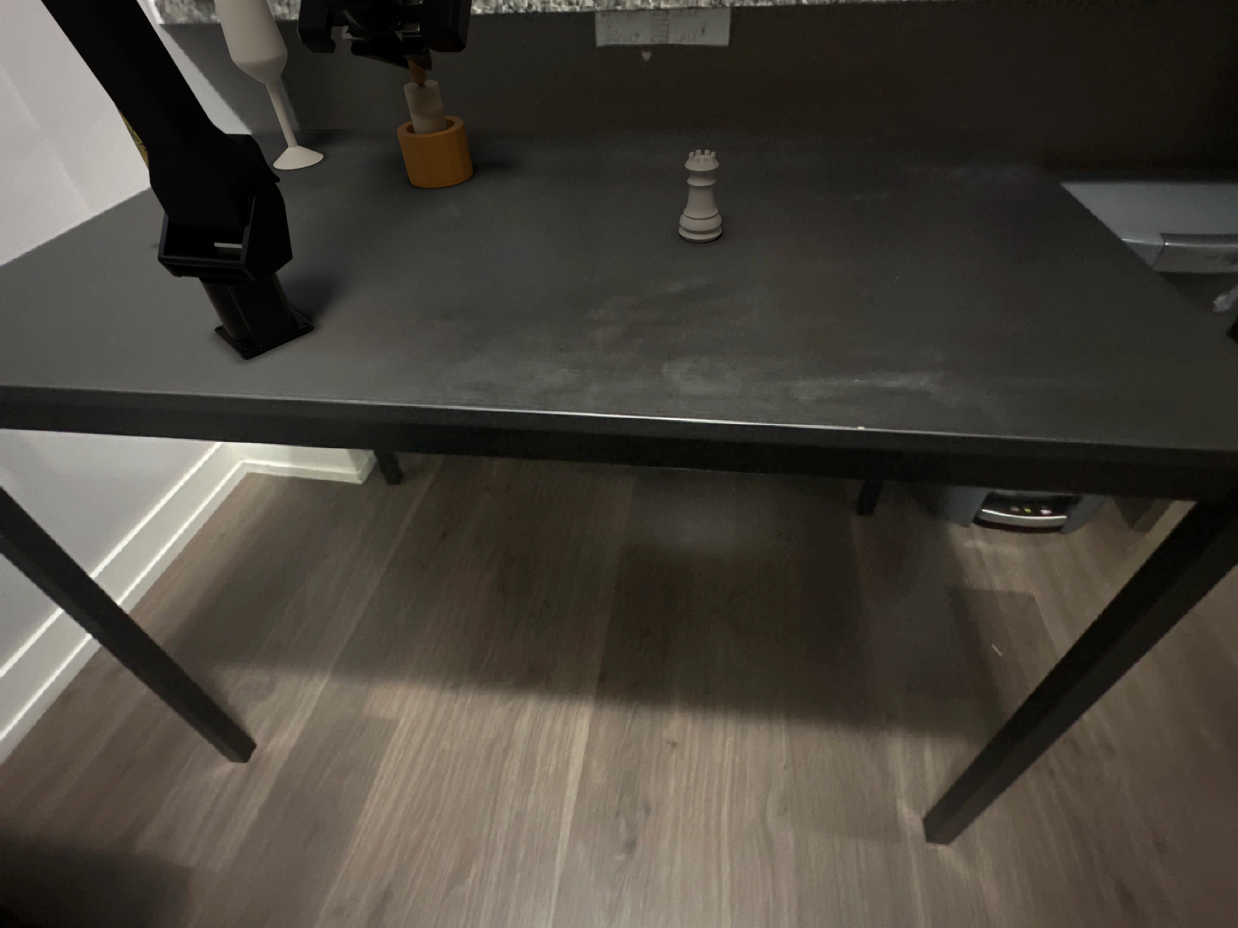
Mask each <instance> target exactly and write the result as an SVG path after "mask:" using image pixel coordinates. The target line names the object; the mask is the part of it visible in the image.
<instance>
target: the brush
mask: <svg viewBox="0 0 1238 928" xmlns="http://www.w3.org/2000/svg"><path fill="white" fill-rule="evenodd" d="M400 37H401V39H402V38H403V36H402V33H400ZM407 63H408V67H409V70H408V71H409V74H410V75H409V76H410V78H411V80H412V82H408V83H406V84H405V85H404V86H403V91H404V94H405V99H406V103H407V106H408V111H409V115H410V119H411V121H412V123H413V127H414V131H415V133H416V134H431V133H436V132H441V131H444V130H446V129H447V123H446V118H445V116H446V114H445V113H446V112H445V109H444V105H443V99H442V95H441V91H440V85H439V83H438V81H436V80H432V79H428V78H427V77H428V76H427V70H426V69H424V68H422V67H420V66H418V65H417V64H415V63H413V62H412V61H410V60H408V59H407Z"/></svg>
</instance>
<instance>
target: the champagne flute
mask: <svg viewBox="0 0 1238 928" xmlns="http://www.w3.org/2000/svg"><path fill="white" fill-rule="evenodd" d="M213 3H214V5H215V10H216V13H217V17H218V19H219V22H220V25H221V29H222V33H223V36H224V39H225V43H226V45H227V46H226V47H227V49H228V52H229V56H230V58H231V60H232V62H233V64H235V65H236V66H237V67H238V68H239V69H240V70H241V71H242V72H243V73H245V74H246V75H248V76H250V77H251V78H253V79H254V80H255V81H257V82H260V83H261V84H264V85H265V86H266V89H267V92H268V95H269V97H270V100H271V103H272V105H273V108H274V111H275V113H276V116H277V119H278V122H279V125H280V127H281V130H282V132H283V136H284V138H285V141H286V143H287V146H288V147H287V148H286V150H284V151H283V152H282V154H280V156H279V157H278V158H277V159H276V160H275V161H274V162H273V164H272V165H273V167H274V168H275V169H278V170H296V169H302V168H306V167H310V166H313V165H315V164H317V163H319V162H320V161H322V159H324V155H323V154H322V153H320V152H317V151H315V150H312V149H309V148H306V147H303V146H301V145H298V142H297V140H296V137H295V135H294V131H293V129H292V125H291V123H290V120H289V117H288V115H287V112H286V109H285V107H284V104H283V101H282V98H281V95H280V93H279V89H278V87H277V84H276V82H277V81H278V80H279V79H280V77H281V75H282V73H283V71H284V69H285V67H286V65H287V61H288V54H289V53H288V48H287V46H286V44H285V41H284V39H283V37H282V34H281V32H280V29H279V27H278V24H277V23H276V20H275V18H274V15H273V13H272V11H271V8H270V6H269V4H268V1H267V0H213Z"/></svg>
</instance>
